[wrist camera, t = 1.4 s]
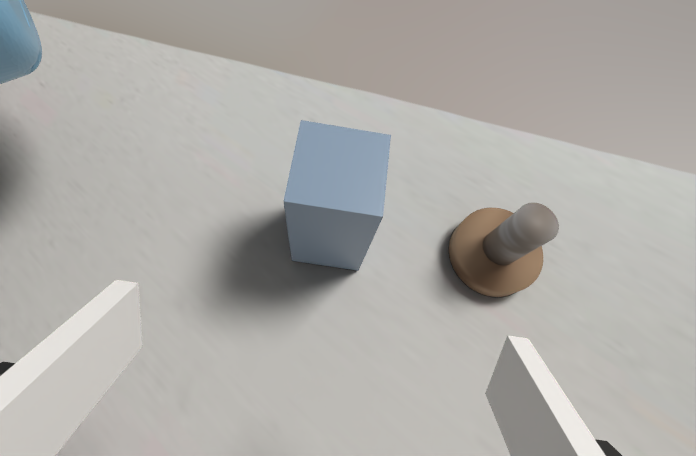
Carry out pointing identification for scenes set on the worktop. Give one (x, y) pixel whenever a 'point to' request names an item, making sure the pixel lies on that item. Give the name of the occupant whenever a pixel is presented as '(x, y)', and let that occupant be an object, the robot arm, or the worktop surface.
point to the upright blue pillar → (335, 194)
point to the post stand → (502, 248)
